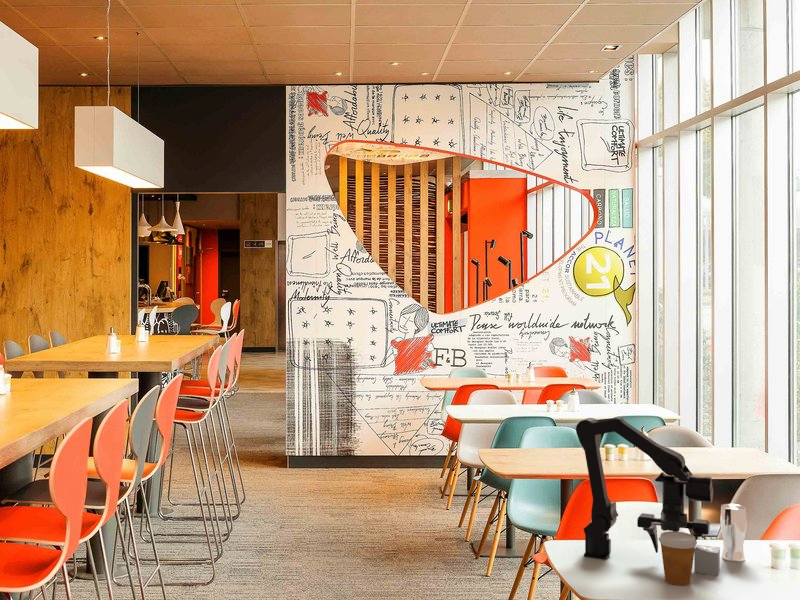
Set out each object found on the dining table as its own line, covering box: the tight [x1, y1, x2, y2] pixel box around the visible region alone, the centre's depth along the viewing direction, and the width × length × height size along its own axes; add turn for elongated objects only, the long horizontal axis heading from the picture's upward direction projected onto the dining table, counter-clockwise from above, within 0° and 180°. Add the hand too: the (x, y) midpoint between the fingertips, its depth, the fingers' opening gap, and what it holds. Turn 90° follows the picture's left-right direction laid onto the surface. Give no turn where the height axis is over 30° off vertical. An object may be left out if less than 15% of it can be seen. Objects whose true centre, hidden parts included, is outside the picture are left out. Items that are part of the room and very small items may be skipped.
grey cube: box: [693, 544, 721, 576], centre depth 226 cm, size 6×6×6 cm
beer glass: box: [719, 503, 747, 563], centre depth 237 cm, size 7×7×15 cm
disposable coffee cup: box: [658, 531, 698, 586], centre depth 217 cm, size 10×10×12 cm
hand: (673, 554), depth 230 cm, fingers open, 8 cm apart
